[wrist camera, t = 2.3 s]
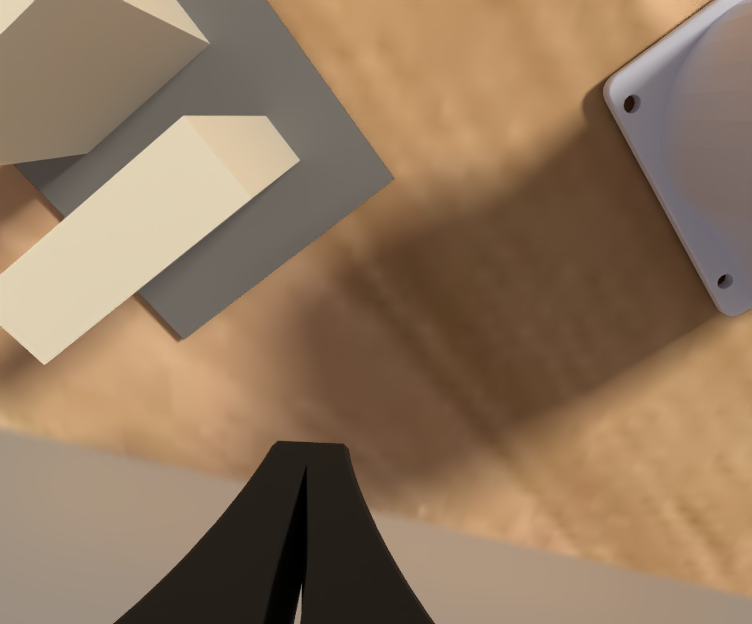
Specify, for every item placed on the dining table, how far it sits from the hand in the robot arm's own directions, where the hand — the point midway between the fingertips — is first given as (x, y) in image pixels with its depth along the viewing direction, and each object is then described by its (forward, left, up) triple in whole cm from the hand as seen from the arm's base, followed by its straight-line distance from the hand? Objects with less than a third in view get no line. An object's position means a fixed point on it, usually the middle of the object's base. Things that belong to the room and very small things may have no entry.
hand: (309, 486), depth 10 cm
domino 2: (+5, 0, -9) cm, 10 cm away
